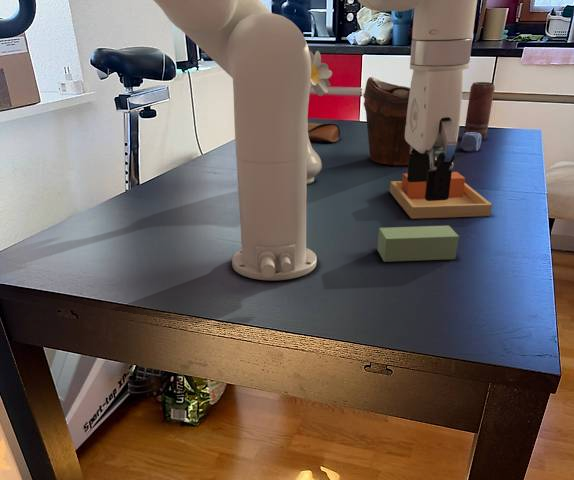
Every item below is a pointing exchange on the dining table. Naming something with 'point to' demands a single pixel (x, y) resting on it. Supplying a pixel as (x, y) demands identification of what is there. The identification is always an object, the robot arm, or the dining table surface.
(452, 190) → the pad terracotta
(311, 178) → the flower vase
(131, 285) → the dining table surface
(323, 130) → the sunglasses case
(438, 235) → the pad sage
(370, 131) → the wooden bucket
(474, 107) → the can
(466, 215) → the wooden tray
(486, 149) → the dining table surface
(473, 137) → the decorative dice
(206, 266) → the dining table surface
